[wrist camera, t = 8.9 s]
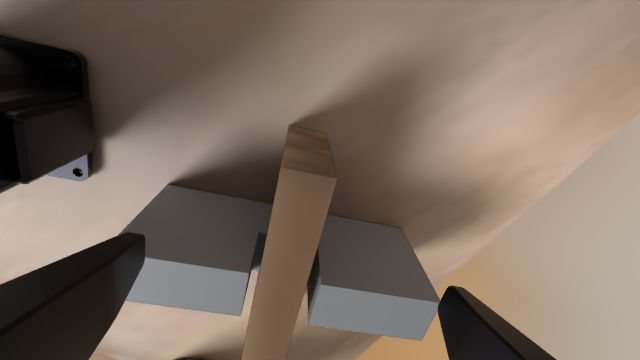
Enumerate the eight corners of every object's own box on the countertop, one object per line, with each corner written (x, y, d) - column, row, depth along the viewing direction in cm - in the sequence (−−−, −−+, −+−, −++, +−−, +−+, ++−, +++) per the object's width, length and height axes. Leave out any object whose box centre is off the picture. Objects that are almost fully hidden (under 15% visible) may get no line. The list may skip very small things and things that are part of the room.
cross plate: (253, 296, 21) (235, 387, 15) (289, 125, 16) (281, 167, 10) (283, 300, 21) (275, 391, 15) (325, 133, 16) (337, 178, 11)
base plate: (165, 220, 18) (105, 298, 12) (167, 184, 17) (102, 250, 12) (389, 258, 20) (421, 340, 14) (401, 228, 19) (441, 303, 13)
